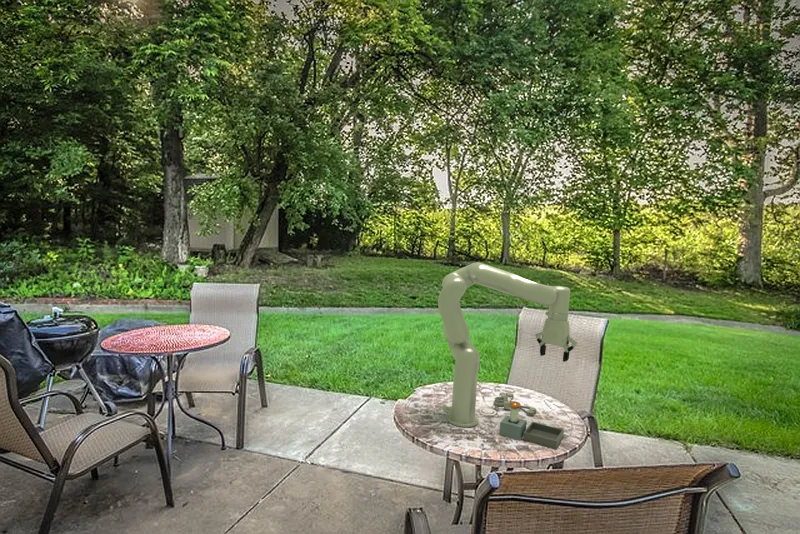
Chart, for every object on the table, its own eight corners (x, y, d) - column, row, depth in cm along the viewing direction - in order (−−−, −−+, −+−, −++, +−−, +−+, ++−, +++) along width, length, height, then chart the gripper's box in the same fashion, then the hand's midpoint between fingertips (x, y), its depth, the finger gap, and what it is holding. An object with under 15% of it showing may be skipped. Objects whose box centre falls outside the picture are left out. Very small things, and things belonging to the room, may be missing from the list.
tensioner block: (499, 434, 178) (500, 421, 177) (505, 427, 185) (506, 415, 184) (519, 440, 174) (520, 427, 173) (525, 432, 181) (526, 420, 180)
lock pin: (505, 434, 178) (508, 403, 178) (509, 430, 182) (511, 400, 181) (516, 436, 176) (518, 405, 175) (519, 433, 180) (521, 402, 179)
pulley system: (509, 420, 194) (540, 416, 198) (509, 409, 194) (541, 405, 198) (480, 399, 221) (509, 395, 225) (480, 389, 220) (509, 386, 224)
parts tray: (522, 440, 174) (523, 432, 174) (531, 428, 185) (532, 421, 184) (556, 449, 168) (557, 441, 168) (563, 437, 178) (563, 429, 178)
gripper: (533, 313, 190) (529, 354, 192) (575, 321, 178) (570, 365, 180) (542, 312, 196) (538, 351, 197) (582, 319, 184) (578, 362, 185)
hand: (553, 358), depth 188 cm, fingers open, 9 cm apart
